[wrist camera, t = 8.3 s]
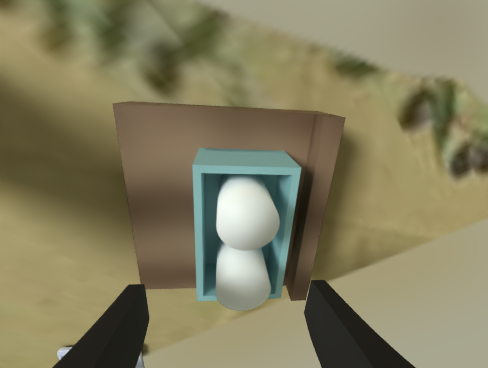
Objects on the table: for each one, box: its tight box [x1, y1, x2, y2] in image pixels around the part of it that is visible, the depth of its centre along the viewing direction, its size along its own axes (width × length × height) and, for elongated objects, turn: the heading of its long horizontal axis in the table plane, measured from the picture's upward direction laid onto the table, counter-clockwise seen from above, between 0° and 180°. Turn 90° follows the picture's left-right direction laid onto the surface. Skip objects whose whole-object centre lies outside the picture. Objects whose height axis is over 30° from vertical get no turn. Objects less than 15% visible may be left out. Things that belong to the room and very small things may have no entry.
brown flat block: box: [113, 102, 345, 301], centre depth 16 cm, size 14×13×4 cm
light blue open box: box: [192, 148, 301, 311], centre depth 14 cm, size 9×5×5 cm, turn 177°
